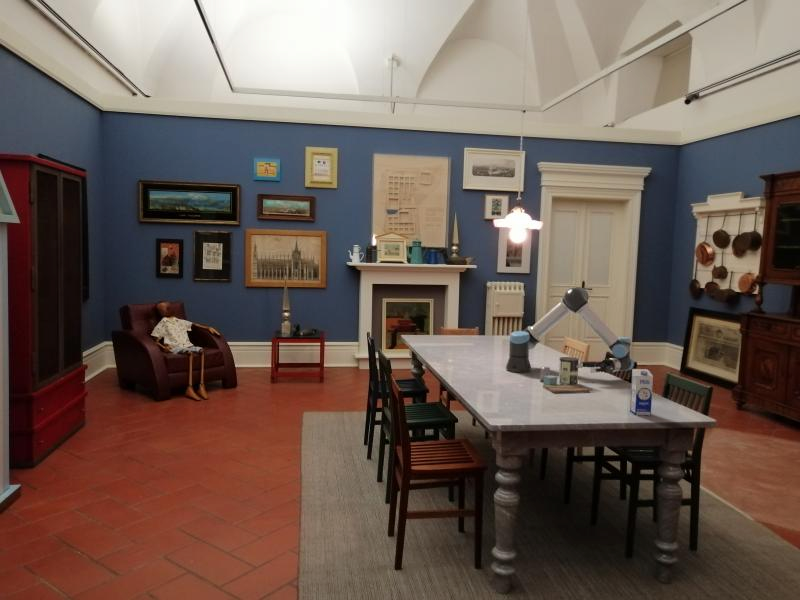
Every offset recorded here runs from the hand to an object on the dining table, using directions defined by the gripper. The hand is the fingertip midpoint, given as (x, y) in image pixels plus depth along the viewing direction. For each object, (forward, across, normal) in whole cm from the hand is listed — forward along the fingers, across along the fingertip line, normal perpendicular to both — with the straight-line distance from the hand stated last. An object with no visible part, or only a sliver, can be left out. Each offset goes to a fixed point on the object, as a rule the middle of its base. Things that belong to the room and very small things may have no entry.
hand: (582, 368), depth 322 cm
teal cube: (+22, 0, -8) cm, 24 cm away
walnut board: (+21, -11, -8) cm, 25 cm away
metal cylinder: (+19, +9, -8) cm, 22 cm away
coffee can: (+10, 0, -8) cm, 13 cm away
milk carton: (+20, -59, -8) cm, 63 cm away
